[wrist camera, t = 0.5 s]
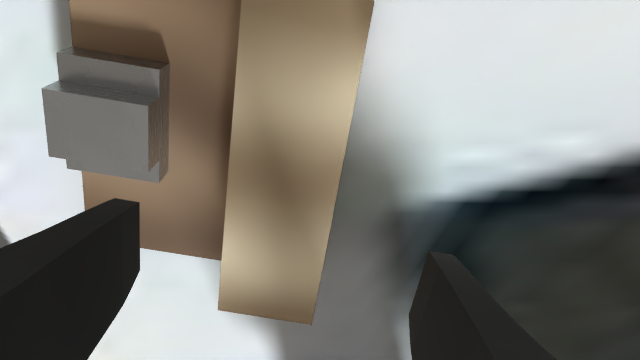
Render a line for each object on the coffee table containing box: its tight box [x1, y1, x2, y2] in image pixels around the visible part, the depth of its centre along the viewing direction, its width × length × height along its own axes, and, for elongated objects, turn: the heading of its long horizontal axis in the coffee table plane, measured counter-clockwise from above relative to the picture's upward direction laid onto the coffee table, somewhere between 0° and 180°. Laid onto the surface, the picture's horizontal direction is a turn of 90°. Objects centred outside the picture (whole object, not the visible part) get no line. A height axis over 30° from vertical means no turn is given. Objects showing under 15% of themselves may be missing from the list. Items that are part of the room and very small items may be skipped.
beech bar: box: [218, 0, 374, 325], centre depth 19 cm, size 13×4×4 cm, turn 171°
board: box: [69, 0, 241, 261], centre depth 21 cm, size 14×11×1 cm
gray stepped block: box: [42, 47, 170, 183], centre depth 20 cm, size 5×4×2 cm
